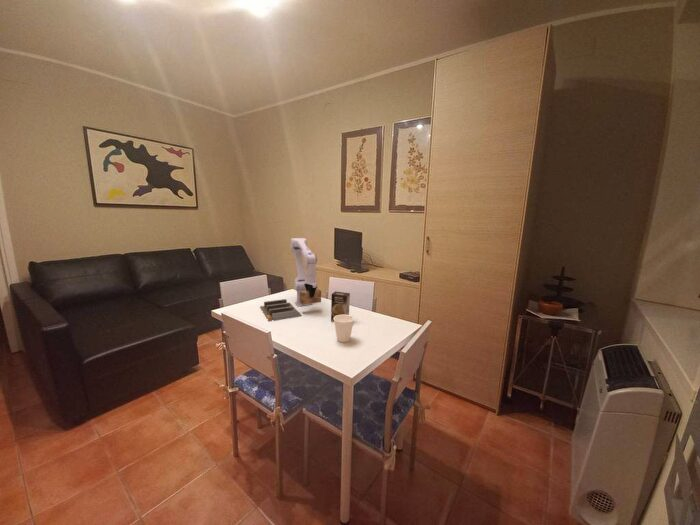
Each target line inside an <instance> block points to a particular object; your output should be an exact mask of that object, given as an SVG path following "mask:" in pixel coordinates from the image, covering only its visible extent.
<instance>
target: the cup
mask: <svg viewBox="0 0 700 525" xmlns="http://www.w3.org/2000/svg"><path fill="white" fill-rule="evenodd" d="M333 319H334V328H335V332H336V334H335V335H336V340H337V341H338V342H340V343H347V342H349V341H350V339H351V335H352V329H353V325H354V321H355V317H354V316H353V315H351V314H349V315H337V316H335V317H334V318H333Z"/></svg>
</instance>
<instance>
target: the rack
mask: <svg viewBox="0 0 700 525" xmlns="http://www.w3.org/2000/svg"><path fill="white" fill-rule="evenodd" d="M259 309H261V312H262V311H263V312H262V313H263V314H264V316H265V319H266V320H267V319H268V320H267V322H272V320H274V321H279V319H281V320H286V318H287V319H293V318H299V317H302V314H301V313H300V312H299V311H298V310H297V309H296V308H295V306H293V305H292V303H290V302H288V300H287V299H286V298H284V299H276V300H266V301H264V302H263V305H262V306H261V305H259ZM292 317H293V318H292Z"/></svg>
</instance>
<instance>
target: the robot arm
mask: <svg viewBox="0 0 700 525" xmlns="http://www.w3.org/2000/svg"><path fill="white" fill-rule="evenodd" d="M289 244H290V246H289V247H290V250H291V253H293V254H294V260H295V268H296V273H297V277H295V279H294V281H293V288H294V290H295V292H296V301H295V302H294V303H295V304H296V306H298V307H302V306H304V307H305V306H309V305H310V306H311V305H313V303H311V304H303V305H302V304H301V303H300V291H308V290H309V294H310V298H312V297H314V294H315V291H316V290H317V289H318V285H317V281H316V264H317V262H318V257H317V254H316V253H313V251H312V250H311V249H310V248H309V247H308V246H307V244H308V242H307V238H306V237H296V238H295V237H293V238H292V237H291V238H290V240H289Z"/></svg>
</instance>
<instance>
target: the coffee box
mask: <svg viewBox="0 0 700 525" xmlns="http://www.w3.org/2000/svg"><path fill="white" fill-rule="evenodd" d="M350 294H351V293H350V292H343V291H334V292H332V293H331V299H330V300H331V302H330V303H331V305H330V307H331V309H330V322H334V319H333V318H334V317H335V316H337V315H350V299H351V298H350V297H351V295H350Z"/></svg>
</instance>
